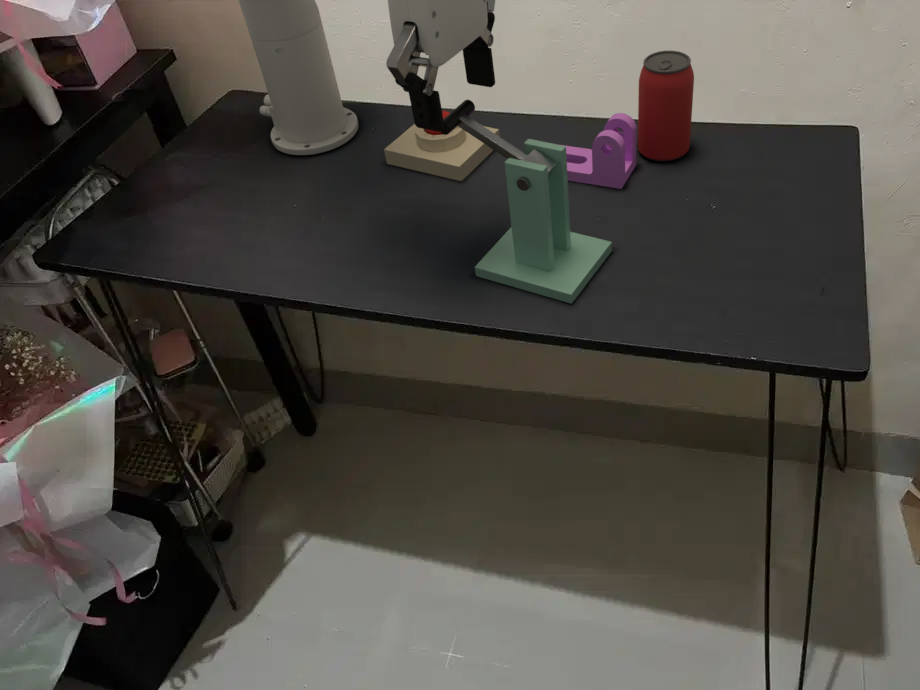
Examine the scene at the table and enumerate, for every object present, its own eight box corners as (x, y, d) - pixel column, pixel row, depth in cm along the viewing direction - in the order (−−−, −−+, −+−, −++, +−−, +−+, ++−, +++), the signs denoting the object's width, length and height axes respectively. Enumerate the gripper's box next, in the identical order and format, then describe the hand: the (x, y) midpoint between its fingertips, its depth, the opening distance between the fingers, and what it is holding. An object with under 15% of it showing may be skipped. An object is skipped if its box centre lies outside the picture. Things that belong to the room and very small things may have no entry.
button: (421, 133, 110) (418, 121, 109) (436, 120, 112) (434, 108, 111) (443, 138, 109) (441, 126, 107) (458, 125, 111) (456, 113, 109)
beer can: (631, 160, 107) (632, 70, 98) (645, 134, 111) (647, 46, 103) (682, 166, 105) (688, 75, 96) (694, 140, 109) (701, 50, 100)
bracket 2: (636, 165, 106) (636, 115, 101) (621, 189, 103) (621, 137, 98) (541, 151, 111) (538, 102, 106) (524, 173, 107) (520, 123, 102)
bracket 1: (475, 276, 93) (458, 167, 84) (519, 227, 99) (508, 120, 89) (571, 304, 88) (565, 192, 79) (612, 251, 94) (611, 140, 84)
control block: (387, 163, 113) (381, 137, 110) (428, 128, 118) (423, 102, 115) (461, 181, 108) (457, 153, 105) (500, 143, 113) (497, 116, 110)
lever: (435, 133, 86) (440, 115, 84) (461, 110, 88) (466, 93, 87) (532, 198, 85) (539, 181, 83) (555, 173, 87) (563, 156, 86)
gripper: (446, -110, 80) (470, 64, 92) (334, -46, 70) (377, 140, 82) (514, -106, 76) (529, 73, 88) (406, -39, 66) (440, 153, 78)
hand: (456, 105), depth 85 cm, fingers open, 9 cm apart
